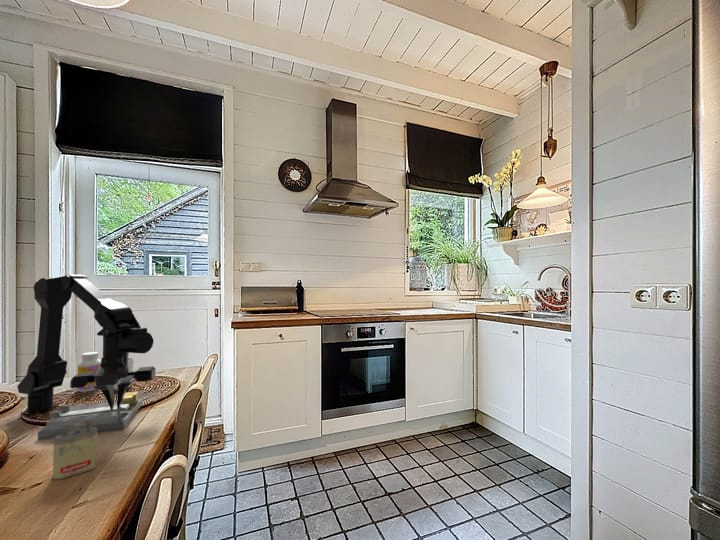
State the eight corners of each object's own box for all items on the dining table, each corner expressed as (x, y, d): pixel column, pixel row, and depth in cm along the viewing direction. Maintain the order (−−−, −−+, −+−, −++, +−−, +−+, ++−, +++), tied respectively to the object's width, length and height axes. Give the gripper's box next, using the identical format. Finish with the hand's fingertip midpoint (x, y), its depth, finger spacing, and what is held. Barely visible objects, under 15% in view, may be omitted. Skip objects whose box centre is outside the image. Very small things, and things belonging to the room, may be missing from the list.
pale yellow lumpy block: (124, 401, 104) (125, 392, 105) (138, 400, 106) (138, 391, 106) (118, 408, 99) (119, 398, 99) (133, 406, 101) (133, 397, 101)
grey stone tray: (71, 412, 101) (71, 395, 101) (141, 405, 107) (142, 389, 107) (37, 440, 84) (38, 419, 84) (123, 430, 90) (124, 410, 90)
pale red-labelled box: (52, 482, 67) (54, 431, 67) (51, 474, 70) (53, 425, 70) (97, 468, 72) (99, 420, 72) (95, 461, 75) (96, 415, 75)
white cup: (136, 386, 126) (137, 358, 126) (115, 390, 120) (116, 362, 120) (127, 382, 129) (128, 356, 129) (107, 387, 124) (108, 359, 124)
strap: (54, 420, 89) (54, 416, 89) (60, 416, 92) (60, 412, 92) (125, 410, 95) (125, 407, 95) (129, 406, 98) (129, 403, 98)
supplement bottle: (87, 393, 117) (88, 355, 118) (71, 391, 119) (72, 354, 119) (105, 387, 124) (106, 351, 124) (90, 385, 125) (91, 350, 125)
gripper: (60, 361, 85) (59, 424, 84) (146, 354, 91) (146, 413, 91) (79, 352, 95) (79, 408, 95) (156, 346, 102) (155, 399, 101)
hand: (115, 407), depth 95 cm, fingers closed on strap
